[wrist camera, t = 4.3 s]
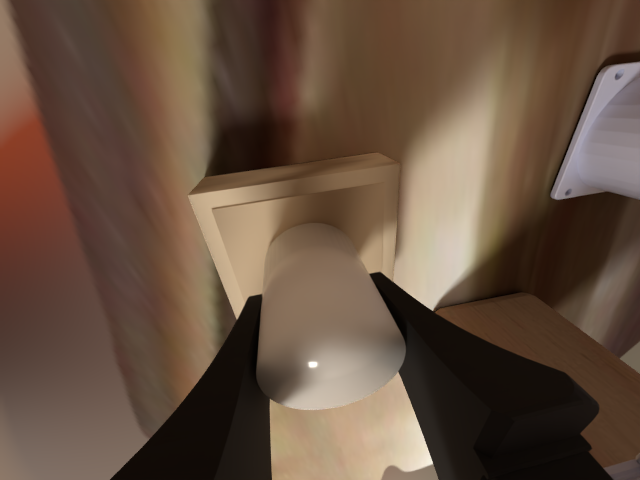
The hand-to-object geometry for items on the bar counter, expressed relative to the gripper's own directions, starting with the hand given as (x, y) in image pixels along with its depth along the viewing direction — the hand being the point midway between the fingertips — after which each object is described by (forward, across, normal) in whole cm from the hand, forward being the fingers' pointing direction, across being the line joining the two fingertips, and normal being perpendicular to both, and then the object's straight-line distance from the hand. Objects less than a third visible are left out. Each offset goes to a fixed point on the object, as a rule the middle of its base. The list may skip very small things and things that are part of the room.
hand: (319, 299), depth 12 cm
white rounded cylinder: (+2, 0, 0) cm, 2 cm away
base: (+6, 0, 0) cm, 6 cm away
